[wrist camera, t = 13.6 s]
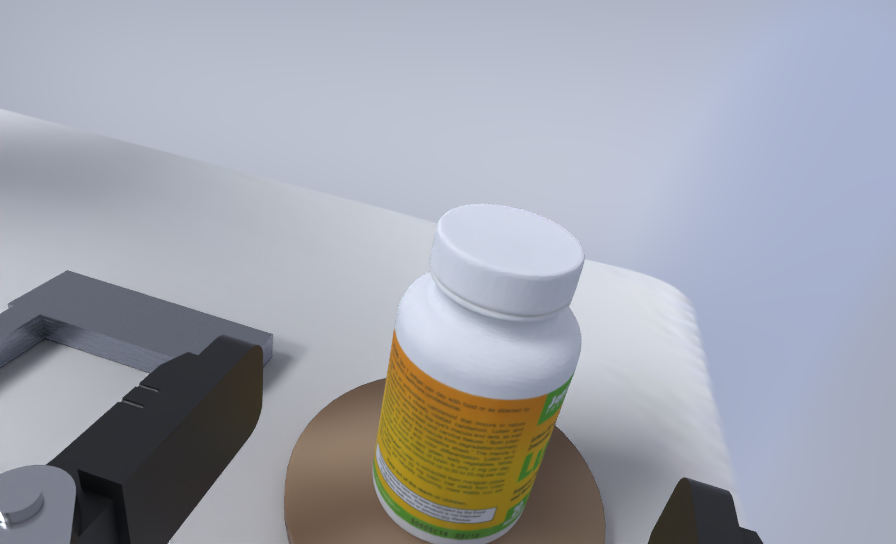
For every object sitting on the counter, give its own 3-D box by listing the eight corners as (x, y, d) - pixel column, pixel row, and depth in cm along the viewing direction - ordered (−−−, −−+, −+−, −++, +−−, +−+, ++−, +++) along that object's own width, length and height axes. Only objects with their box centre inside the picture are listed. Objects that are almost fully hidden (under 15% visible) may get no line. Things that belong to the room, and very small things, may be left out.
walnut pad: (228, 454, 21) (227, 438, 20) (458, 359, 28) (461, 345, 27) (418, 759, 14) (423, 744, 14) (659, 534, 21) (667, 520, 21)
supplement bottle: (522, 572, 18) (626, 313, 13) (351, 531, 18) (389, 260, 13) (527, 442, 23) (604, 216, 18) (390, 410, 23) (430, 177, 18)
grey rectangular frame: (-315, 527, 16) (-337, 497, 15) (71, 292, 27) (67, 270, 26) (5, 661, 14) (-6, 634, 14) (272, 356, 26) (272, 334, 25)
